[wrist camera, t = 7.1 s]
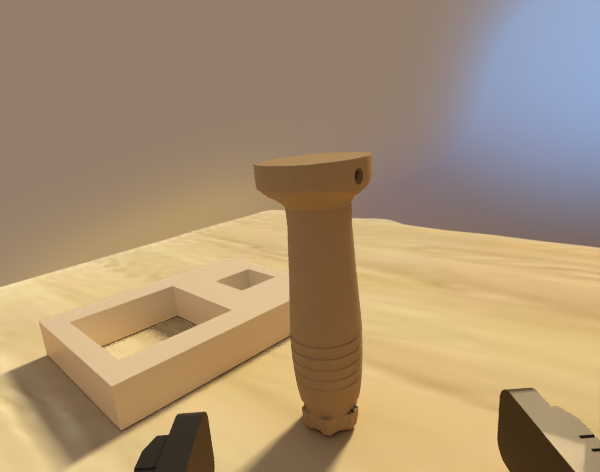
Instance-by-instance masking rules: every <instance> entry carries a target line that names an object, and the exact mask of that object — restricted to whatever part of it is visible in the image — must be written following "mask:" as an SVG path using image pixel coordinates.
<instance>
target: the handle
mask: <svg viewBox="0 0 600 472" xmlns="http://www.w3.org/2000/svg"><path fill="white" fill-rule="evenodd" d="M254 174H255V182H256V187H257V190H259V191H260V192H261V193H263V194H264V195H266V196H267V197H269V198H271V199H274V200H276V201H278V202H279V203H281V204H282V205H283V206H284V207H285V210H286V218H287V226H288V257H289V302H290V337H291V348H292V357H293V363H294V370H295V376H296V381H297V386H298V389H299V393H300V396H301V399H302V401H303V402H304V406H303V407H302V412H303V417H304V420H305V423H306V425H307V426H308V427H309V428H313V429H317V430H319V431H321V432H322V433H323V435H327V436H332V435H333V434H334V433H336V432H338V431H342V430H350V429H351V428H352V427H353V426H355V424H356V422H357V416H358V406H356V405H357V399H358V397H359V393H360V386H361V377H362V322H361V312H360V302H359V293H358V283H357V273H356V263H355V252H354V241H353V230H352V210H351V209H352V208H351V202H352V199H353V197H354V196H355V195H357V194H358V193H360V192H361V191H362V190H363V189H364V188H365V187H366V186H367V185H368V183H369V182H370V180H371V176H372V153H371V152H338V153H337V152H336V153H319V154H311V155H301V156H293V157H285V158H279V159H273V160H267V161H263V162H260V163H257V164H254Z"/></svg>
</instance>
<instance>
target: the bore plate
mask: <svg viewBox="0 0 600 472" xmlns="http://www.w3.org/2000/svg"><path fill="white" fill-rule="evenodd" d="M177 315H178V316H180V317H182V318H184V319H186V320H188V321H190V322H192V323H194V324H196V325H197V326H195V327H193V328H191V329H188V330H186V331H184V332H182V333H179V334H177V335H175V336H173V337H170V338H168V339H166V340H164V341H161V342H159V343H157V344H155V345H152V346H150V347H148V348H146V349H143V350H141V351H139V352H137V353H134V354H132V355H130V356H128V357H125V358H123V359H121V360H118V359H116V358H115V357H114V356H112V355H111V354H110V353H109V352H107V351H106V350H105V349H103V348H102V346H104V345H107V344H109V343H112V342H114V341H117V340H119V339H121V338H124V337H126V336H129V335H131V334H134V333H136V332H138V331H141V330H143V329H146V328H148V327H151V326H153V325H155V324H158V323H160V322H163V321H165V320H168V319H170V318H173V317H175V316H177ZM39 324H40V328H41V332H42V336H43V340H44V344H45V348H46V352H47V355H48V356H49V357H50V358H51V359H52V360H53V361H54V362H55V363H56V364H57V365H58V366H59V367H60V368H61V369H62V370H63V371H64V372H65V373H66V374H67V375H68V376H69V378H70V379H71V380H72V381H73V382H74V383H75V384H76V385H77V386H78V387H79V388H80V389H81V390H82V391H83V392H84V393H85V394H86V395H87V396H88V397H89V398H90V399H91V400H92V401H93V402H94V403H95V404H96V405H97V406H98V407H99V408H100V409H101V410H102V412H103V413H104V414H105V415H106V416H107V417H108V418H109V419H110V420H111V421H112V422H113V423H114V424H115V425H116V426H117V427H118V428H119V429H120V430H121V431H122V430H124V429H125V428H127V427H129V426H131V425H132V424H134V423H136V422H138V421H140V420H141V419H143V418H145V417H147V416H148V415H150V414H152V413H154V412H155V411H157V410H159V409H161V408H163V407H164V406H166V405H168V404H170V403H171V402H173V401H175V400H177V399H178V398H180V397H182V396H184V395H186V394H187V393H189V392H191V391H193V390H194V389H196V388H198V387H200V386H201V385H203V384H205V383H207V382H209V381H210V380H212V379H214V378H216V377H217V376H219V375H221V374H223V373H224V372H226V371H228V370H230V369H232V368H233V367H235V366H237V365H239V364H240V363H242V362H244V361H246V360H247V359H249V358H251V357H253V356H255V355H256V354H258V353H260V352H262V351H263V350H265V349H267V348H269V347H271V346H272V345H274V344H276V343H278V342H279V341H281V340H283V339H285V338H286V337H288V336H290V302H289V273H288V272H284V271H280V270H277V269H273V268H269V267H265V266H262V265H258V264H254V263H251V262H247V261H243V260H239V259H236V258H232V257H228V258H225V259H222V260H219V261H216V262H213V263H210V264H207V265H204V266H201V267H198V268H195V269H192V270H189V271H186V272H184V273H181V274H178V275H175V276H172V277H169V278H166V279H163V280H160V281H157V282H154V283H151V284H148V285H145V286H142V287H139V288H136V289H133V290H130V291H127V292H124V293H121V294H118V295H115V296H112V297H109V298H106V299H103V300H100V301H97V302H94V303H91V304H88V305H85V306H82V307H79V308H76V309H73V310H70V311H67V312H64V313H61V314H58V315H55V316H52V317H49V318H46V319H43V320H40V321H39Z"/></svg>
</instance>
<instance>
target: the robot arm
mask: <svg viewBox="0 0 600 472" xmlns="http://www.w3.org/2000/svg"><path fill="white" fill-rule="evenodd" d="M498 446H499V450H500V454H501V457H502V459H503V461H504V463H505V465H506V466H507V468H508V469H509V471H510V472H600V440H599V439H598V438H595V436H594V434H593V433H592V432H591V431H590V430H589V429H588V428H587V427H586V426H585V425H584V424H583V423H582V422H581V421H580V420H579V419H578V418H577V417H575V416H573V415H572V414H570V413H568V412H567V411H565V410H563V409H562V408H560V407H558V406H552V407H551V406H550V405H549V404H548V403H547V402H546V401H545V399H544V398H543V397H542V396H541V395H540V394H539V393H538V392H537V391H536V390H535V389H533V388H521V389H508V390H503V391H502V392H501V394H500V404H499V420H498ZM134 472H214V455H213V448H212V442H211V435H210V428H209V421H208V416H207V413H206V412H195V413H182V414H177V416H176V418H175V420H174V423H173V425H172V428H171V430H170V433H169V435H161V436H156V437H155V438H154V439H153V440H152V441H151V443H150V444H149V445H148V446H147V447H146V448H145V449H144V450H143V451H142V453H141V455H140V457H139V460H138V462H137V464H136V466H135V468H134Z"/></svg>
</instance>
